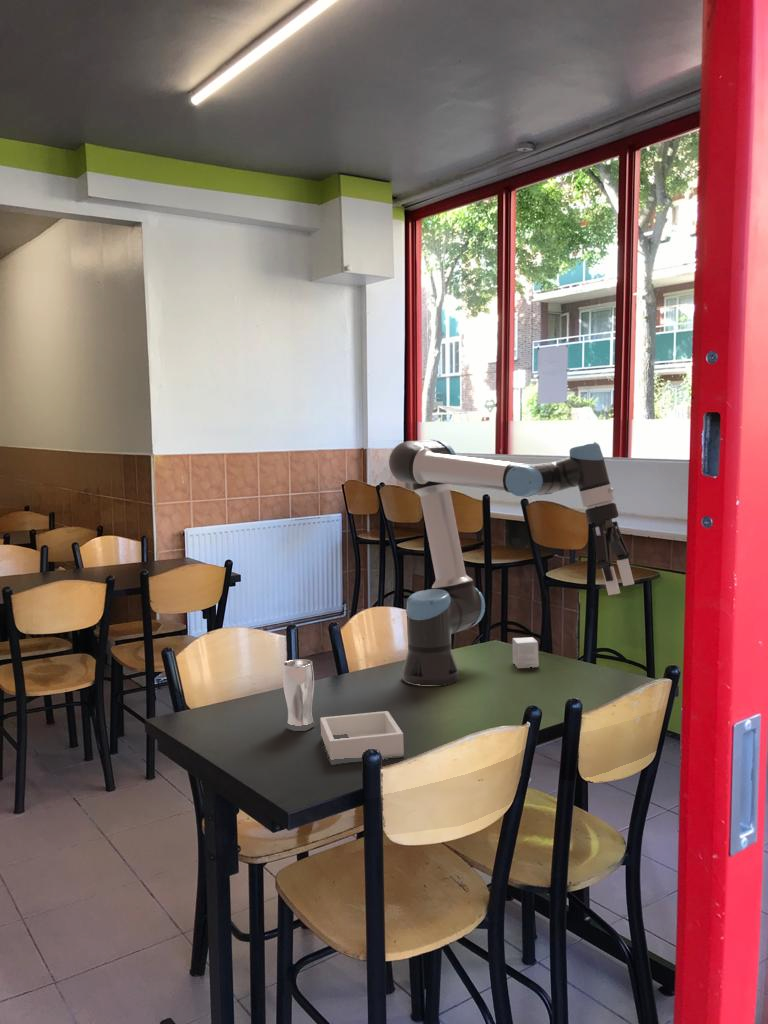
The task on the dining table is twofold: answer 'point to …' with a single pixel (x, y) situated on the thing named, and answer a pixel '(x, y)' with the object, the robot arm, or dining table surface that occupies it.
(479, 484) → the robot arm
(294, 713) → the beer glass
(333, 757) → the tote
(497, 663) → the dining table surface
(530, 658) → the product box
